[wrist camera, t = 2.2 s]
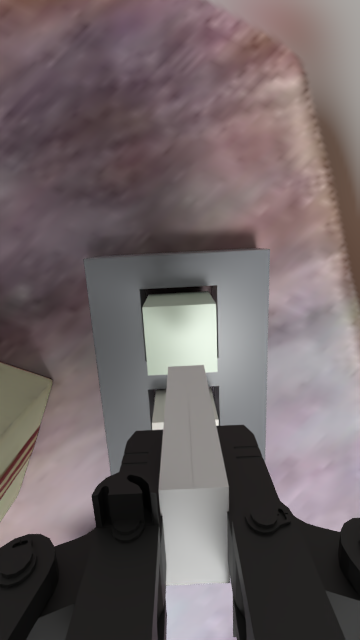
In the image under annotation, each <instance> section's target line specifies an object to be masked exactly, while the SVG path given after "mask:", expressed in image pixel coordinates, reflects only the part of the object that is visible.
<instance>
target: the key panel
mask: <svg viewBox="0 0 360 640" xmlns="http://www.w3.org/2000/svg"><path fill="white" fill-rule="evenodd" d="M269 264H270V249H261V248H247V249H228V250H209V251H190V252H170V253H151V254H132V255H113V256H96V257H91V258H86V259H84V267H85V275H86V283H87V291H88V299H89V306H90V314H91V322H92V330H93V338H94V346H95V354H96V361H97V369H98V377H99V385H100V393H101V401H102V408H103V416H104V424H105V432H106V440H107V448H108V455H109V463H110V471H111V475H114V474H116V473H118V472H119V471H120V467H121V463H122V459H123V456H124V451H125V447H126V443H127V441H128V439H129V438H130V437H131V436H132V435H133V434H134V432H135V431H143V430H152V418H153V411H154V394H153V389H166V388H167V376H168V375H149V376H148V370H147V358H146V346H145V334H144V322H143V310H142V307H143V305H144V303H145V301H146V293H145V289H155V288H174V287H193V286H212V298H213V300H214V301H215V303H216V322H217V369H218V372H207V373H206V378H207V383H208V386H214V402H215V407H216V411H217V415H218V419H219V426H224V425H245V426H246V427H247V428H248V429H249V430H250V431H251V432H252V433H253V434H254V436H255V439H256V441H257V444H258V448H259V449H260V451H261V454H262V458H263V459H264V462H265V440H266V396H267V352H268V308H269Z"/></svg>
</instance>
